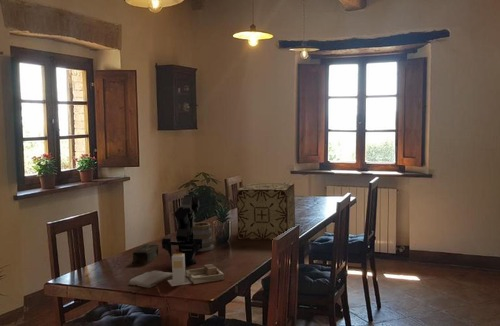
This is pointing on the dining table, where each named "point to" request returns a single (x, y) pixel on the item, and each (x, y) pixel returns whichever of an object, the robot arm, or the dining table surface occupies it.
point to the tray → (203, 276)
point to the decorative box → (265, 210)
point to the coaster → (180, 283)
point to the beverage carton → (145, 254)
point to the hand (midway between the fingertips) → (181, 259)
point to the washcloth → (150, 278)
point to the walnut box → (210, 270)
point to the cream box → (178, 268)
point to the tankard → (203, 235)
